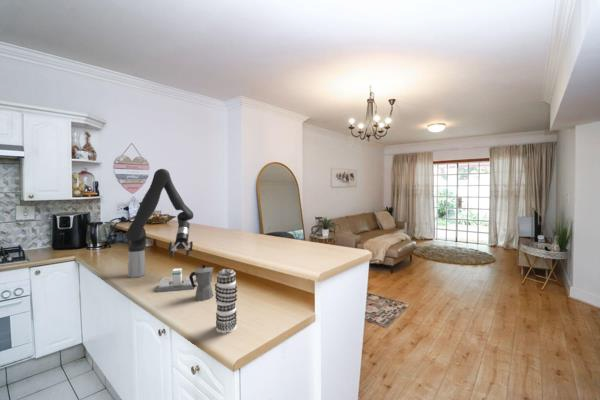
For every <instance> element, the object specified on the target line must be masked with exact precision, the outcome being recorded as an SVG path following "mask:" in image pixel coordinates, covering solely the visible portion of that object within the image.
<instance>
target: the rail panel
mask: <svg viewBox="0 0 600 400" xmlns="http://www.w3.org/2000/svg"><path fill="white" fill-rule="evenodd" d="M189 276H190V275H185V277H184V279H183V280H182V284H181V285H179V286H173V283H172V276H167V277H162V278H161V280H159V285H158V287H157V288H156V293H163V292H164V293H165V292H174V291H186V290H187V291H188V290H195V288H196V287H193V286H192V284H191V281H190V278H189ZM193 281H194V285H197V281H196V276H195V275H194V276H193Z"/></svg>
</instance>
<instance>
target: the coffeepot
mask: <svg viewBox="0 0 600 400" xmlns="http://www.w3.org/2000/svg"><path fill="white" fill-rule="evenodd" d="M201 266H202V267H200V268H197V269H195V270H194V271H192V272H191V273H190V275H188V276H189V278H190V281H191V284H192V286H193V287H195V288H196V290H195V299H196V300H197V301H207V300H210V299H212V298H213V297H214V293H213V287H212V284H211V282H212V279H213V273H214V269H215V267H214V266H213V267H211V266H210V267H206V264H202V265H201ZM193 276H194V277H195V280H196V281H197V282H196V285H194V281H193Z"/></svg>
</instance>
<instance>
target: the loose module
mask: <svg viewBox="0 0 600 400" xmlns="http://www.w3.org/2000/svg"><path fill="white" fill-rule="evenodd" d="M171 277H172V283H173V286H179V285H181V284H182V281H183V267H182V268H181V267H180V268H173V270H172V272H171Z"/></svg>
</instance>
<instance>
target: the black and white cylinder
mask: <svg viewBox="0 0 600 400" xmlns="http://www.w3.org/2000/svg"><path fill="white" fill-rule="evenodd" d="M236 274H237V272H236V271H235V270H233V269H231V268H223V269H220V270H219V271H218V273H216V275H215V276H216V282H215V284H214V291H215V304H216V307H217V308H216V313H215V316H216V317H215V319H216V321H215V325H216V326H215V329H216V332H217V333H219V332H222V333H221V334H227V333H226V332H229V333H231V331H232V332H234V331H236V329H237V327H238V326H237V325H238V323H237V322H238V319H237V316H238V315H237V313H238V312H237V306H236V302H237V300H238V298H237V297H238V296H237V295H238V294H237V293H238V290H237V289H238V286H237V285H236V283H237V280H236ZM233 330H234V331H233Z"/></svg>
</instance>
